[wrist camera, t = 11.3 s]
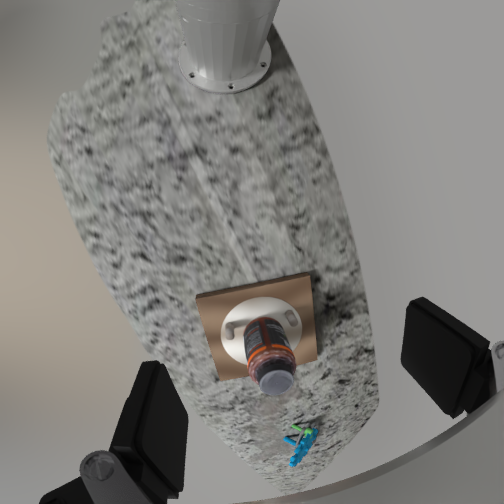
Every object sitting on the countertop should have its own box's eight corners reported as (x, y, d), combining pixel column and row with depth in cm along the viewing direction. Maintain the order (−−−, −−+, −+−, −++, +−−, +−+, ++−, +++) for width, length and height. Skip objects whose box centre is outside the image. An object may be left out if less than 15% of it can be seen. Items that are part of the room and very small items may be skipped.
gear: (312, 452, 48) (290, 475, 40) (291, 442, 52) (266, 463, 44) (326, 418, 47) (304, 442, 39) (302, 408, 51) (277, 429, 43)
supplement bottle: (237, 345, 39) (242, 398, 28) (249, 311, 37) (258, 359, 27) (275, 352, 40) (291, 403, 29) (289, 319, 38) (310, 366, 28)
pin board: (196, 294, 38) (193, 308, 33) (306, 272, 39) (316, 283, 34) (220, 375, 42) (220, 393, 37) (314, 354, 43) (323, 370, 38)
